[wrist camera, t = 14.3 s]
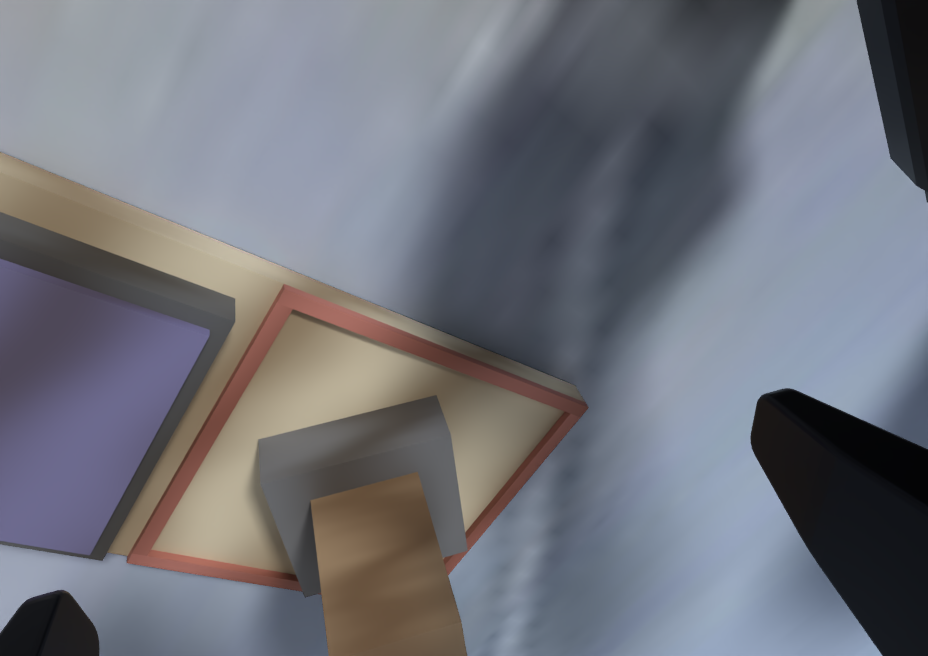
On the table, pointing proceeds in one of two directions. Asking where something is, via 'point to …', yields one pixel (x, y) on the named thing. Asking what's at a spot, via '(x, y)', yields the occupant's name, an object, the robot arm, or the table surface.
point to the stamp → (373, 526)
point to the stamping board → (210, 386)
